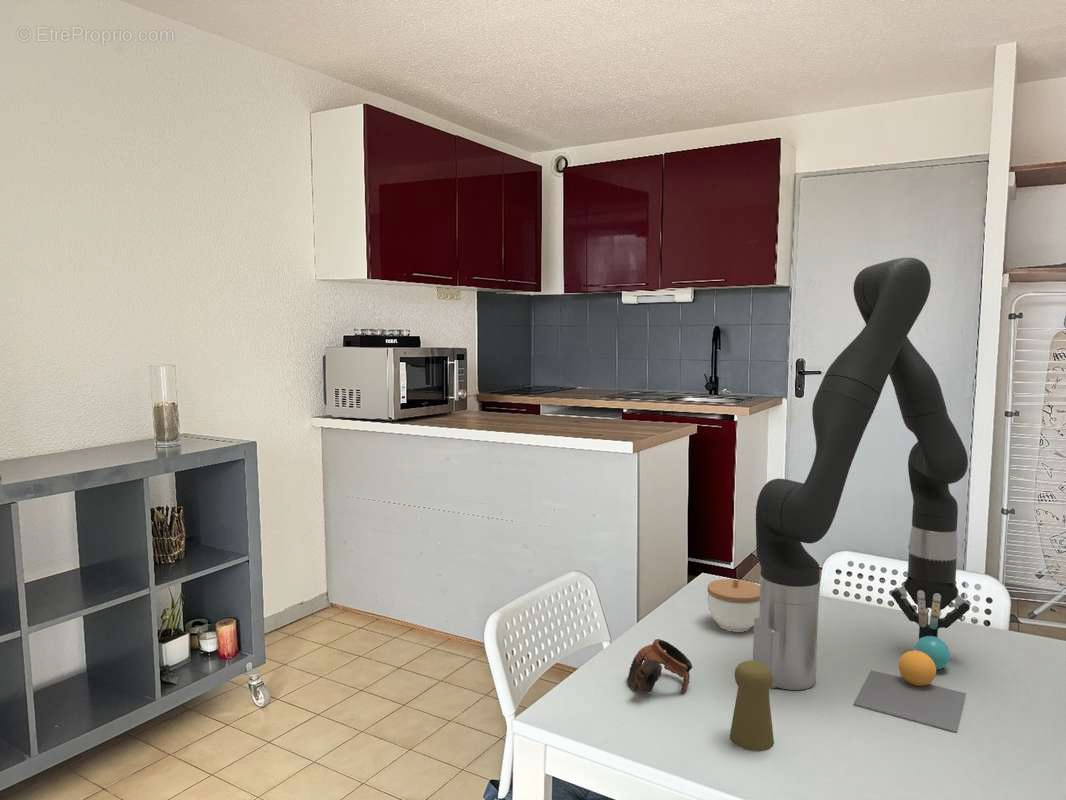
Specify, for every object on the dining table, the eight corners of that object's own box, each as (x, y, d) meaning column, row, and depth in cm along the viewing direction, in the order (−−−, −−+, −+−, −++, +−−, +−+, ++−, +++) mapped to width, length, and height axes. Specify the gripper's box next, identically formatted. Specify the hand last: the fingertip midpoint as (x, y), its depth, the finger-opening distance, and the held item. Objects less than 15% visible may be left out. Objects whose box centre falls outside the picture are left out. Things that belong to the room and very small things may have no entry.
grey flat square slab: (956, 733, 107) (956, 731, 107) (853, 704, 115) (853, 703, 115) (965, 694, 118) (965, 693, 118) (871, 671, 126) (871, 670, 126)
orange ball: (916, 695, 122) (913, 689, 118) (892, 665, 126) (889, 659, 122) (945, 677, 121) (943, 670, 117) (920, 647, 125) (917, 640, 121)
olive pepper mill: (765, 756, 101) (767, 679, 100) (722, 741, 105) (725, 666, 104) (780, 737, 106) (782, 663, 105) (739, 723, 109) (741, 651, 108)
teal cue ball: (934, 634, 131) (925, 664, 131) (912, 628, 129) (902, 658, 129) (961, 646, 126) (952, 677, 126) (939, 640, 124) (929, 672, 124)
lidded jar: (770, 637, 140) (771, 589, 139) (713, 637, 140) (714, 589, 140) (754, 615, 151) (755, 571, 150) (701, 615, 151) (702, 570, 150)
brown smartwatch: (632, 670, 128) (658, 631, 127) (678, 708, 123) (704, 667, 123) (608, 681, 117) (635, 638, 116) (657, 723, 113) (686, 678, 112)
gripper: (977, 553, 131) (972, 648, 132) (895, 541, 138) (890, 631, 140) (974, 564, 125) (968, 663, 126) (888, 550, 132) (883, 644, 134)
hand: (927, 646), depth 133 cm, fingers closed
